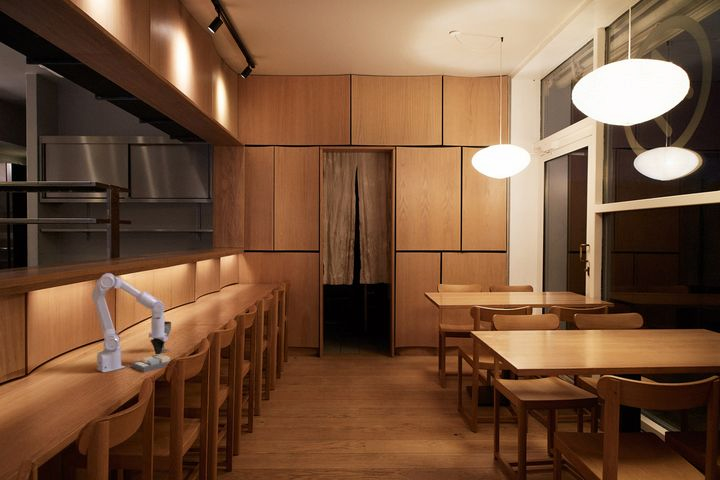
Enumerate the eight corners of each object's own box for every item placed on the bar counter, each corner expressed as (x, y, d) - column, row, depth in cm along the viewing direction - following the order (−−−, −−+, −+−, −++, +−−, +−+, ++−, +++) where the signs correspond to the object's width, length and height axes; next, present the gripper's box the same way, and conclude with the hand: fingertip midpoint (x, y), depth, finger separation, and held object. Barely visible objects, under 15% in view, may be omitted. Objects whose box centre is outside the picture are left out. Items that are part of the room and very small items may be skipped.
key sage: (156, 361, 216) (156, 357, 216) (152, 359, 218) (152, 355, 218) (164, 359, 219) (164, 355, 219) (160, 357, 221) (160, 353, 221)
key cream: (145, 363, 212) (145, 359, 212) (141, 362, 214) (141, 358, 214) (153, 361, 215) (153, 357, 215) (149, 360, 217) (149, 356, 217)
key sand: (161, 363, 212) (161, 359, 212) (157, 361, 215) (157, 357, 215) (170, 361, 216) (169, 357, 216) (165, 359, 218) (165, 355, 218)
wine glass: (151, 351, 238) (151, 323, 238) (164, 348, 245) (164, 320, 245) (162, 353, 234) (161, 325, 234) (174, 350, 241) (174, 322, 241)
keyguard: (144, 372, 204) (144, 367, 204) (131, 367, 212) (131, 362, 212) (174, 364, 216) (174, 359, 216) (161, 359, 223) (161, 355, 223)
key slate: (151, 366, 208) (151, 361, 208) (146, 364, 211) (146, 360, 211) (159, 364, 212) (159, 359, 211) (155, 362, 214) (155, 358, 214)
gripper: (173, 326, 217) (174, 354, 217) (158, 322, 226) (158, 349, 226) (159, 329, 211) (159, 357, 212) (144, 324, 220) (144, 352, 221)
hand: (158, 353), depth 218 cm, fingers closed
